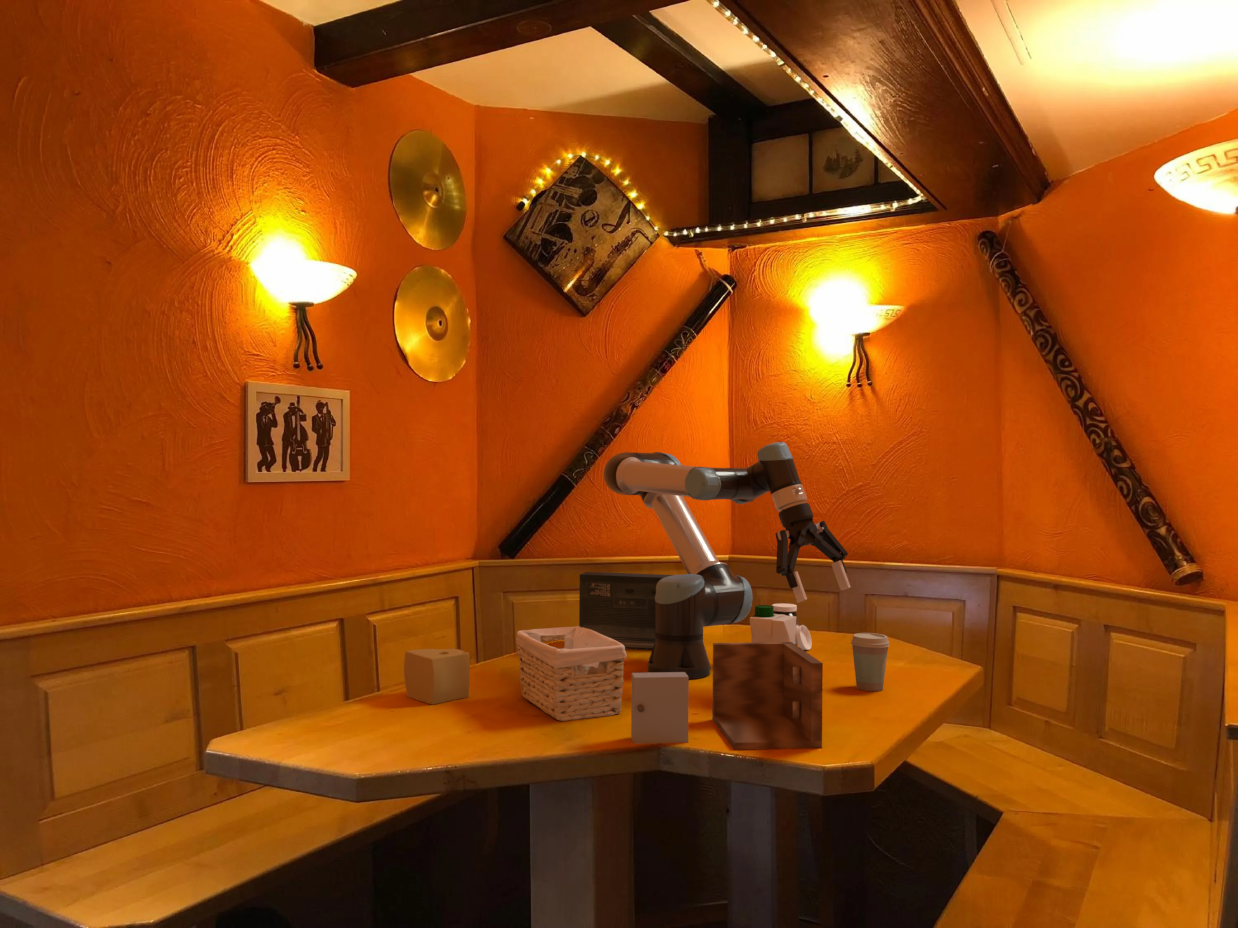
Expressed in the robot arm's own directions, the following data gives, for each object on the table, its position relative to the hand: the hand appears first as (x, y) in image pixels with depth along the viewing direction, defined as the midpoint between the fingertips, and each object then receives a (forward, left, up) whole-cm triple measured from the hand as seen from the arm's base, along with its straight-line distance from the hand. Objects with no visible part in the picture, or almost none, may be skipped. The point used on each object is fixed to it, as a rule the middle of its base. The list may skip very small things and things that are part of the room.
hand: (824, 595), depth 215 cm
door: (-8, -55, -21) cm, 60 cm away
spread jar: (-27, +40, -22) cm, 53 cm away
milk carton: (-5, -16, -22) cm, 27 cm away
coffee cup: (+8, +7, -22) cm, 24 cm away
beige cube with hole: (-64, -58, -22) cm, 89 cm away
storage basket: (-37, -46, -22) cm, 63 cm away
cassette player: (-63, +15, -22) cm, 68 cm away
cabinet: (+5, -40, -21) cm, 45 cm away
